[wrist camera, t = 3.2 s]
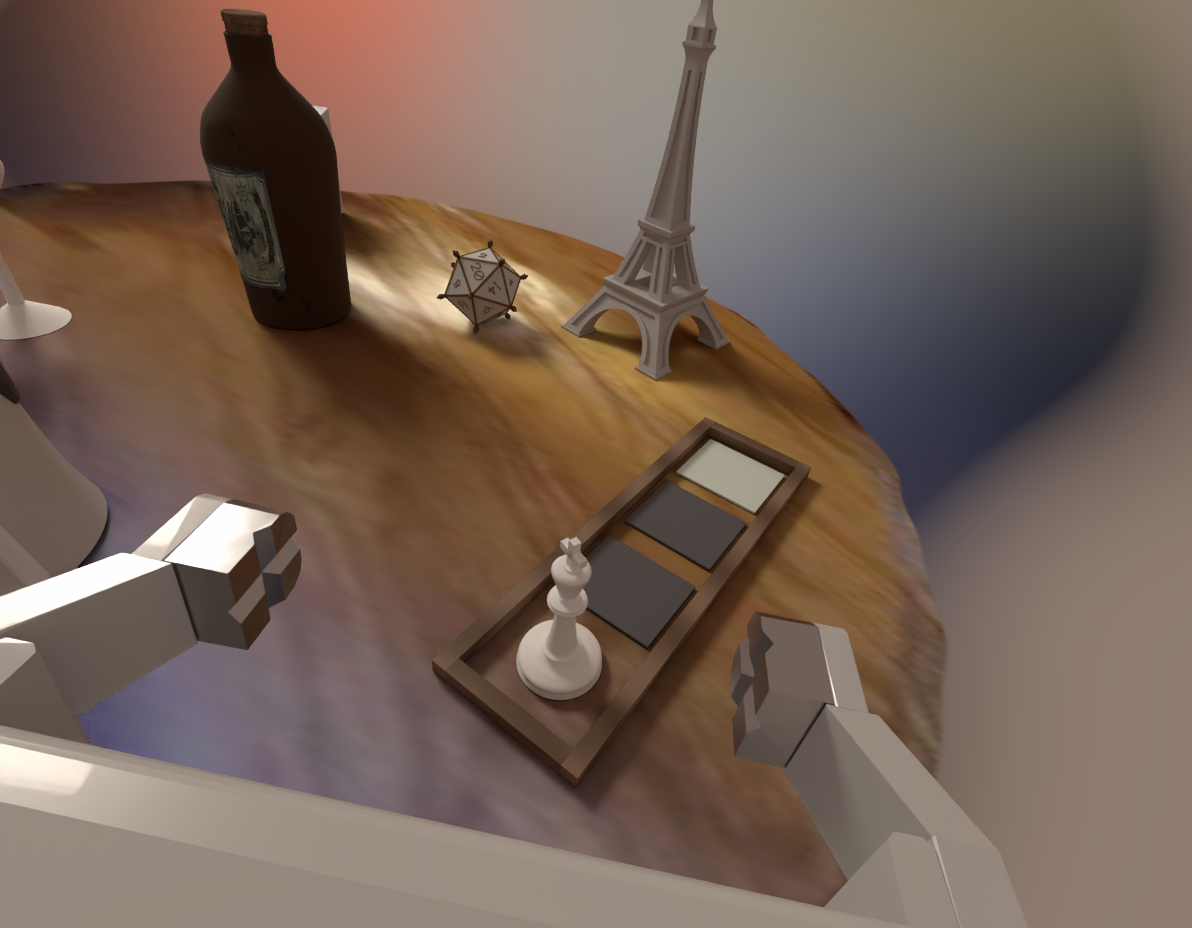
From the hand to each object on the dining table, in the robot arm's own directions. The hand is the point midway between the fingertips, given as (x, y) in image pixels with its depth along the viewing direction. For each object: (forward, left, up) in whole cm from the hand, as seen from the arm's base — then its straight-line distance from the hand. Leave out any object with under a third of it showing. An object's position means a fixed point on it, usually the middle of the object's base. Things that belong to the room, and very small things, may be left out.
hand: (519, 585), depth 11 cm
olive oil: (+27, +52, -23) cm, 63 cm away
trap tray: (+23, +6, -23) cm, 33 cm away
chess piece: (+12, +6, -23) cm, 27 cm away
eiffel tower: (+50, +24, -23) cm, 60 cm away
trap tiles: (+23, +6, -23) cm, 33 cm away
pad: (+34, +6, -23) cm, 42 cm away
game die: (+39, +38, -23) cm, 59 cm away
